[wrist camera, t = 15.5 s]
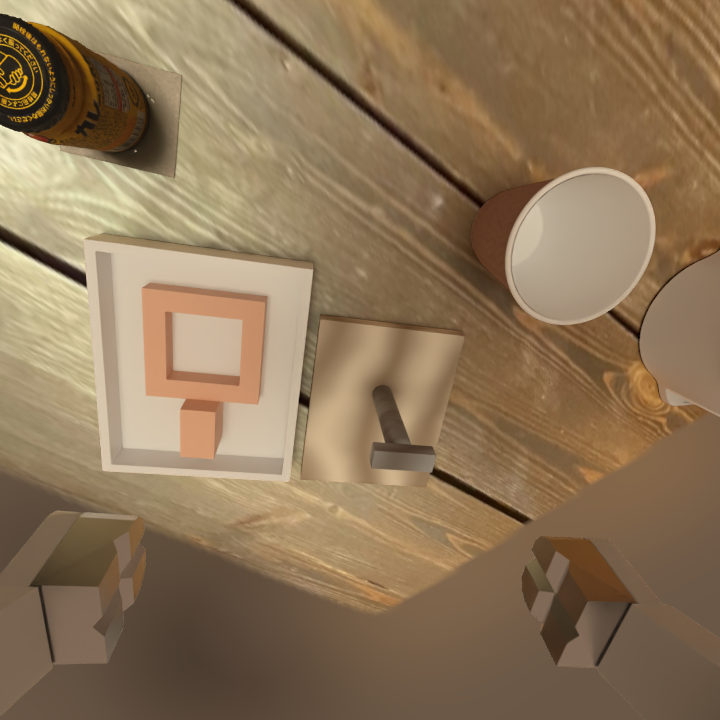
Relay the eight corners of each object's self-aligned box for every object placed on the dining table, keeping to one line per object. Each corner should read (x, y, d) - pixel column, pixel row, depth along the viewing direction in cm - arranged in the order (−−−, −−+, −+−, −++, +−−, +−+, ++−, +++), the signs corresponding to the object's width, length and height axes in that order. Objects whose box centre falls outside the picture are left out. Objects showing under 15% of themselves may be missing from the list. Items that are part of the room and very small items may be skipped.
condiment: (59, 41, 31) (-80, -33, 20) (182, 75, 33) (116, 24, 22) (61, 151, 34) (-60, 138, 23) (175, 177, 35) (113, 178, 24)
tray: (313, 262, 39) (313, 269, 36) (290, 461, 47) (289, 481, 44) (103, 233, 36) (83, 239, 33) (117, 449, 44) (102, 470, 41)
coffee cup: (573, 256, 41) (668, 284, 30) (473, 304, 42) (531, 349, 31) (544, 147, 37) (641, 135, 26) (435, 204, 38) (485, 214, 27)
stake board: (460, 331, 43) (515, 388, 31) (423, 478, 50) (457, 570, 38) (320, 314, 41) (323, 369, 29) (300, 470, 47) (297, 565, 36)
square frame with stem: (267, 296, 39) (262, 308, 35) (257, 437, 44) (252, 461, 41) (149, 282, 37) (132, 293, 34) (154, 430, 43) (140, 454, 39)
